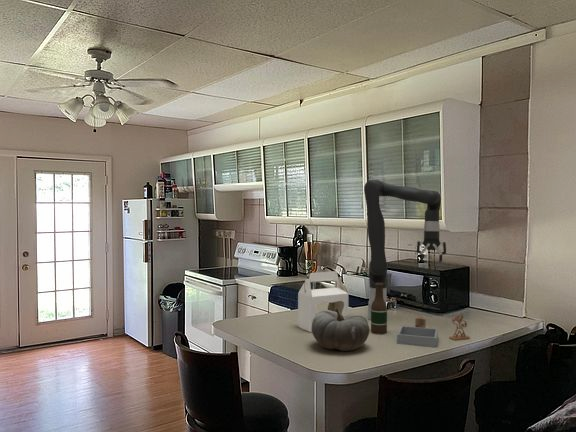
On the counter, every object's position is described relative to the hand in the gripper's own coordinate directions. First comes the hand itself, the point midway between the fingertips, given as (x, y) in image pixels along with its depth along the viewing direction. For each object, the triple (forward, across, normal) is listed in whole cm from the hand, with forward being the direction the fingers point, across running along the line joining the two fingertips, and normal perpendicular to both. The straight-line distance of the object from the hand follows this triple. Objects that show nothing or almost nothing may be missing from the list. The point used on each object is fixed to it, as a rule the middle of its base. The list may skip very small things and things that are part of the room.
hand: (431, 262), depth 250 cm
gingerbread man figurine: (+33, +14, -18) cm, 40 cm away
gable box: (+33, -51, -20) cm, 64 cm away
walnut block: (+33, -4, -12) cm, 36 cm away
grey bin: (+33, -4, -28) cm, 44 cm away
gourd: (+33, -35, -50) cm, 70 cm away
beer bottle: (+33, -23, -20) cm, 45 cm away
